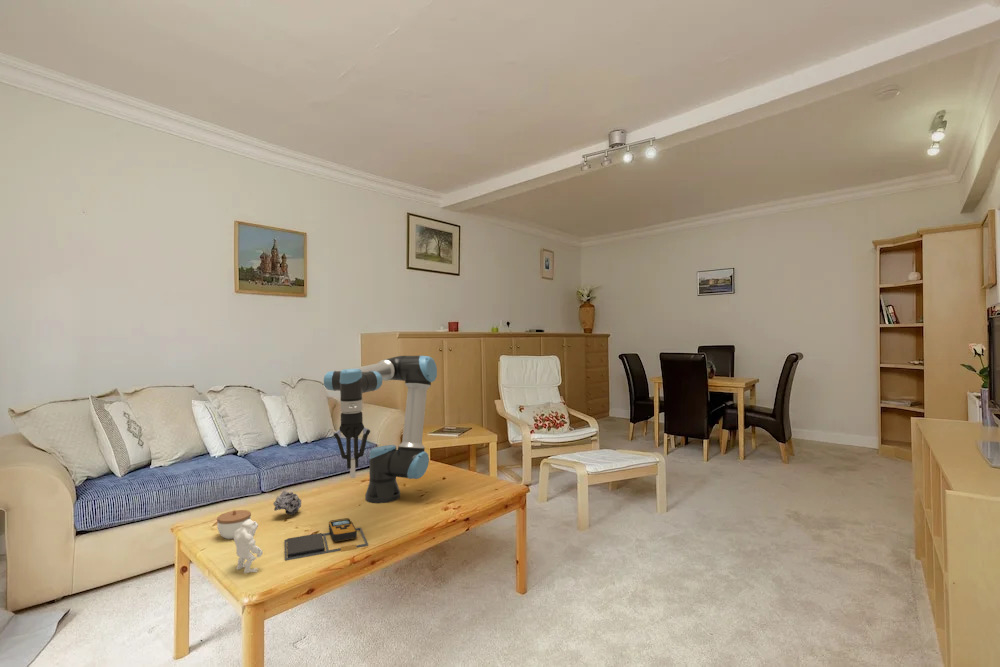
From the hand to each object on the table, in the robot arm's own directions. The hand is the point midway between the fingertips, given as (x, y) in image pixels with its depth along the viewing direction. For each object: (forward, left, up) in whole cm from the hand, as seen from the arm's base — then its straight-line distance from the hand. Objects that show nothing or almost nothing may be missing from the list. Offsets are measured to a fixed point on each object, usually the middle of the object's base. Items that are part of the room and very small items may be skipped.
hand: (352, 476), depth 172 cm
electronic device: (+4, -3, -23) cm, 23 cm away
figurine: (+12, -33, -22) cm, 42 cm away
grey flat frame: (+4, -9, -22) cm, 24 cm away
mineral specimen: (-31, -21, -22) cm, 44 cm away
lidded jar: (-18, -39, -22) cm, 48 cm away
